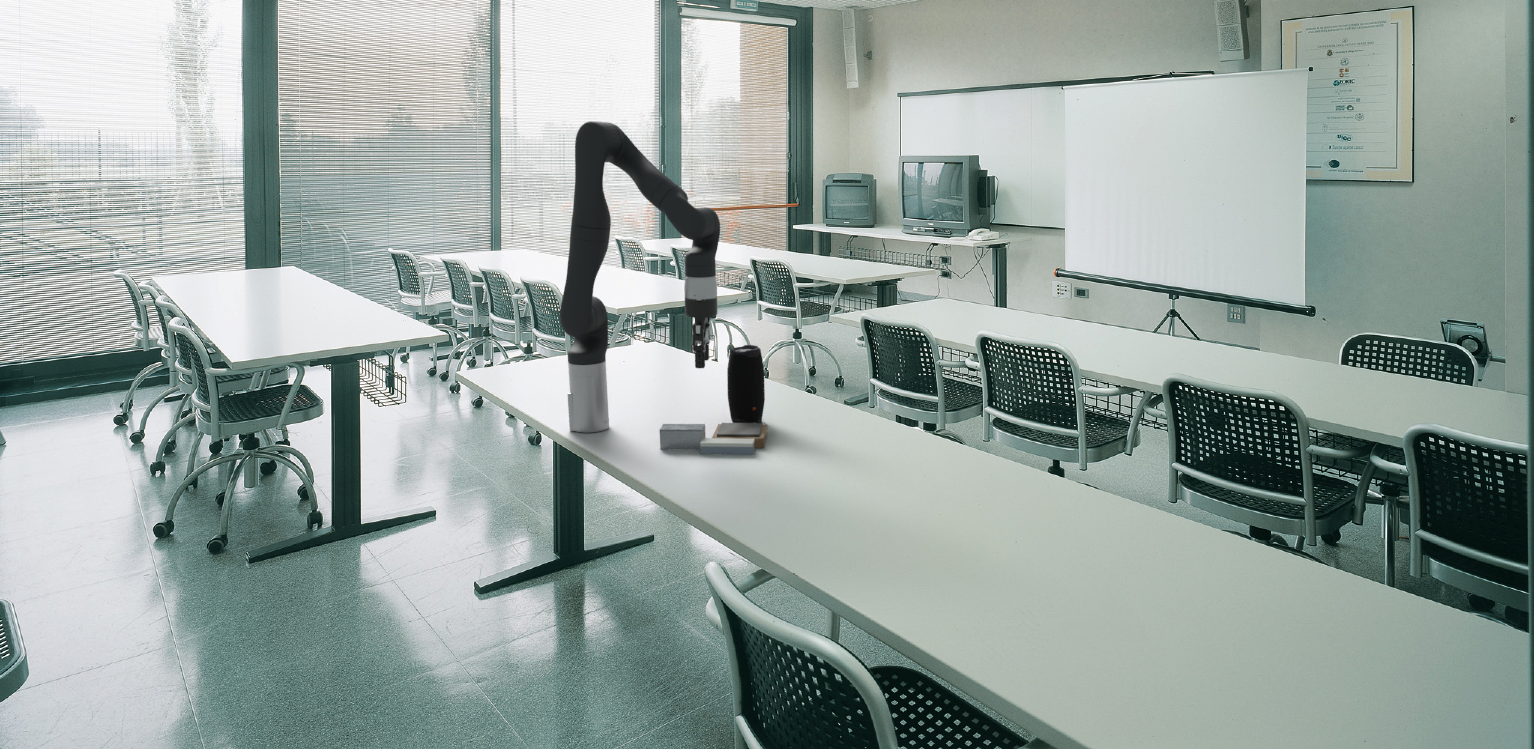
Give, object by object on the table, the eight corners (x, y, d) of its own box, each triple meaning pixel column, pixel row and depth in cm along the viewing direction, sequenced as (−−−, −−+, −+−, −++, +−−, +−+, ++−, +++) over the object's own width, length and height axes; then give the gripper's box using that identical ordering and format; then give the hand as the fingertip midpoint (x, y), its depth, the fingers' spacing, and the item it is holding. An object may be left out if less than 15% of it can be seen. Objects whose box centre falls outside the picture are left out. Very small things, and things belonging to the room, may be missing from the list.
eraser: (700, 455, 218) (700, 442, 218) (703, 450, 222) (703, 438, 221) (752, 456, 217) (752, 443, 216) (754, 451, 221) (754, 438, 220)
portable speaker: (766, 426, 240) (765, 350, 236) (729, 427, 239) (727, 351, 235) (763, 417, 248) (762, 343, 244) (727, 418, 248) (725, 344, 243)
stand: (712, 447, 223) (711, 435, 222) (718, 433, 234) (718, 421, 234) (763, 448, 222) (763, 435, 221) (767, 433, 234) (767, 421, 233)
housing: (660, 450, 222) (659, 429, 221) (663, 444, 227) (663, 423, 226) (703, 450, 222) (702, 429, 220) (705, 444, 226) (705, 423, 225)
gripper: (688, 291, 228) (690, 357, 231) (680, 300, 214) (682, 370, 217) (720, 291, 227) (721, 358, 231) (713, 300, 213) (715, 370, 217)
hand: (702, 364), depth 224 cm, fingers open, 8 cm apart
